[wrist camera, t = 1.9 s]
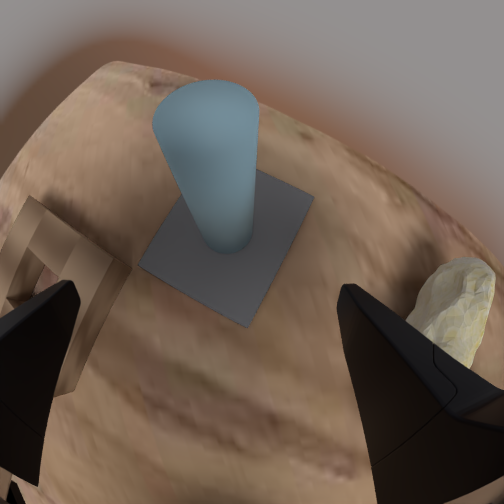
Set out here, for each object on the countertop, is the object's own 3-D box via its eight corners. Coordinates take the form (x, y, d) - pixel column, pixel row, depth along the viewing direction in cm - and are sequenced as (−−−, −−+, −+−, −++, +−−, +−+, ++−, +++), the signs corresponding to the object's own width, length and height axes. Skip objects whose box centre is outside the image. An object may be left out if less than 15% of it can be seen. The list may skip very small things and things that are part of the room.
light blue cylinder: (237, 262, 21) (223, 170, 8) (192, 239, 21) (132, 134, 9) (261, 219, 22) (277, 97, 9) (218, 198, 22) (192, 71, 10)
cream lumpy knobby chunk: (437, 256, 24) (391, 229, 14) (497, 269, 18) (507, 250, 9) (398, 388, 25) (323, 444, 15) (450, 408, 19) (404, 489, 10)
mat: (247, 328, 20) (247, 328, 20) (139, 266, 21) (137, 265, 21) (313, 199, 23) (314, 196, 22) (212, 152, 24) (212, 150, 23)
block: (73, 391, 18) (51, 397, 15) (1, 311, 19) (-20, 307, 16) (132, 268, 21) (113, 258, 18) (48, 208, 22) (29, 195, 19)
